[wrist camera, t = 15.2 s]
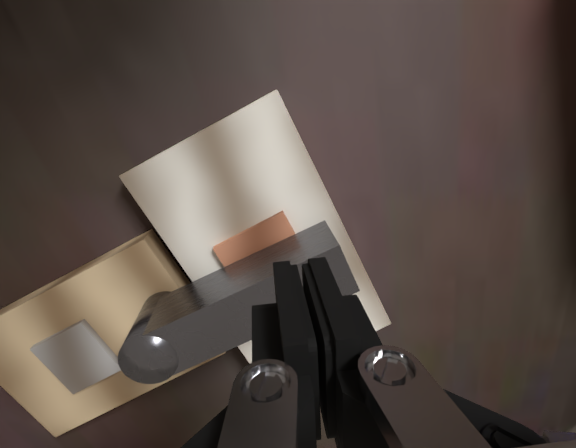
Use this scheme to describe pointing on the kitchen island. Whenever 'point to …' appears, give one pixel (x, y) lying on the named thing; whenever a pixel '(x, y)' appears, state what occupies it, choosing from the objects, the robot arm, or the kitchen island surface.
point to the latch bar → (219, 307)
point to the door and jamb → (167, 260)
